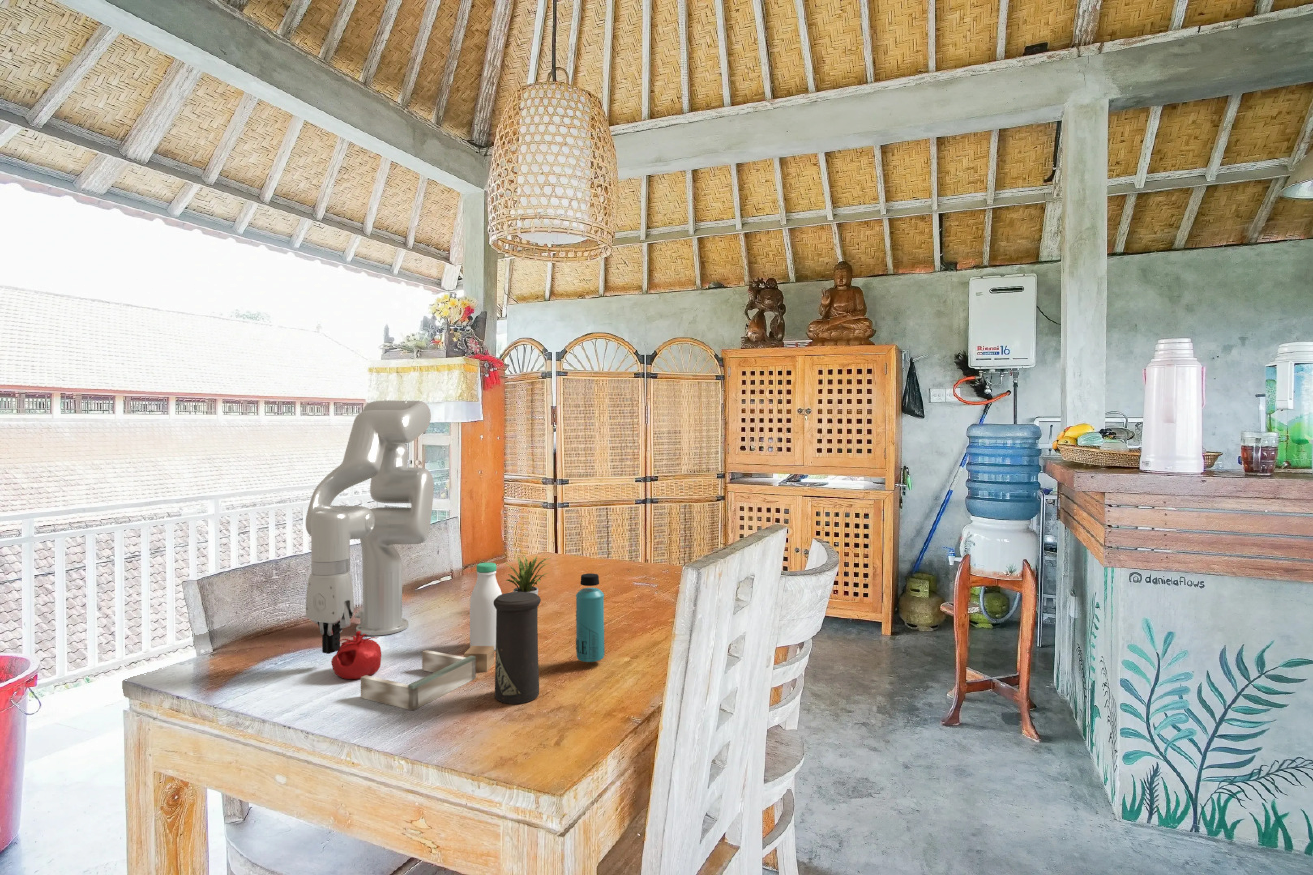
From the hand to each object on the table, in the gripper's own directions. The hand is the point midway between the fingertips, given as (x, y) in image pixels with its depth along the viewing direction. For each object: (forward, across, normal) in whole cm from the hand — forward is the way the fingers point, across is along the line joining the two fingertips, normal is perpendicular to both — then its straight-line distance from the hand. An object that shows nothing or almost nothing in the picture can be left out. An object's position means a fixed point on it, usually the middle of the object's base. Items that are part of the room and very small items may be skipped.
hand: (331, 651), depth 142 cm
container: (+4, +46, +6) cm, 46 cm away
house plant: (+4, +12, +55) cm, 57 cm away
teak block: (+4, +29, +14) cm, 32 cm away
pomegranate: (+4, +8, 0) cm, 9 cm away
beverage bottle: (+4, +50, +26) cm, 56 cm away
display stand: (+4, +26, 0) cm, 26 cm away
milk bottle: (+4, +22, +25) cm, 33 cm away
